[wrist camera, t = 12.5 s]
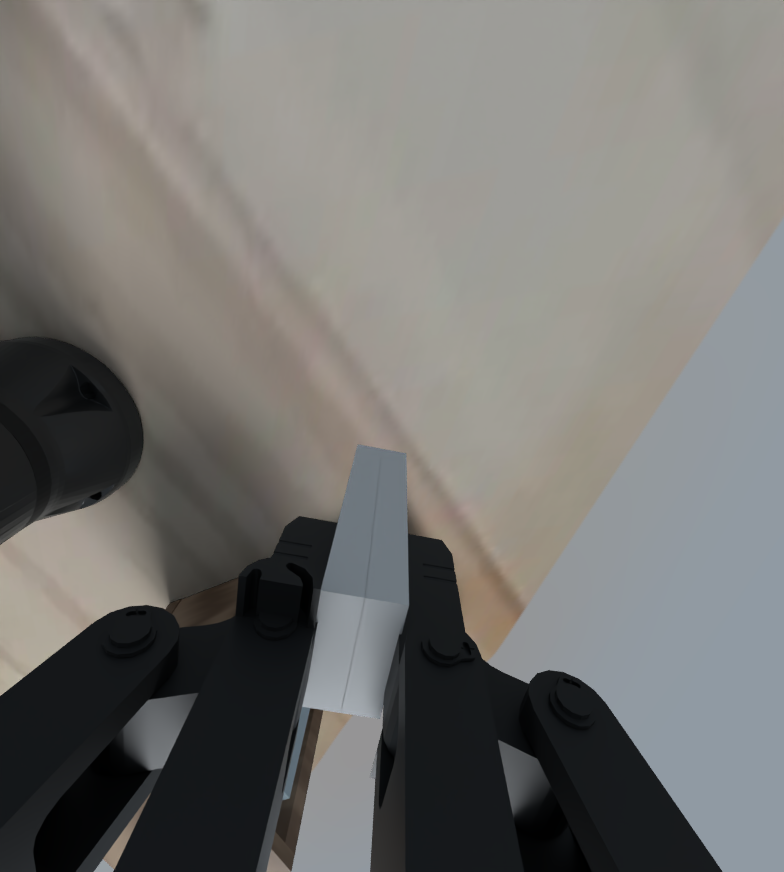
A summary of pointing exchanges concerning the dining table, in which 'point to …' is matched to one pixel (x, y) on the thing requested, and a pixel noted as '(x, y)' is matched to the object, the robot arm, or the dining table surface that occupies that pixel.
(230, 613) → the tunnel
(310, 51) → the dining table surface
